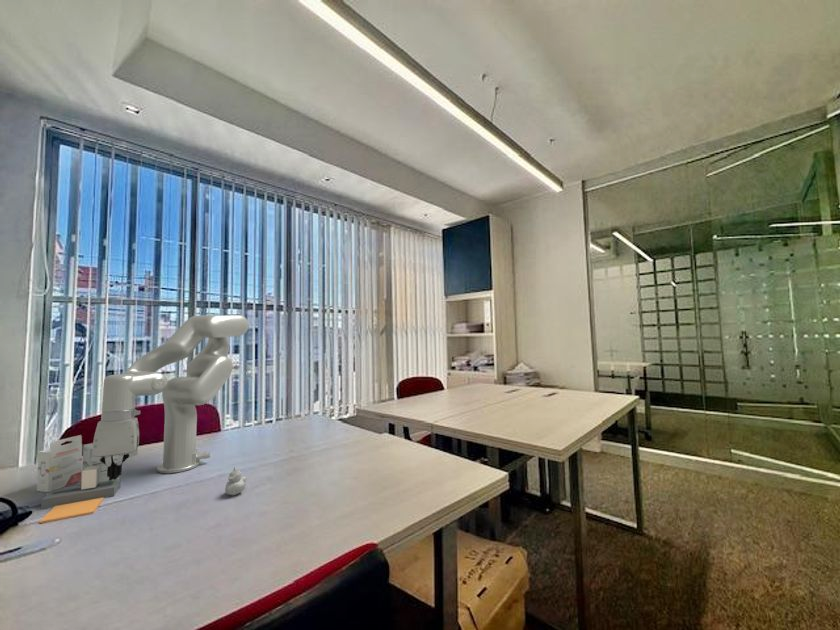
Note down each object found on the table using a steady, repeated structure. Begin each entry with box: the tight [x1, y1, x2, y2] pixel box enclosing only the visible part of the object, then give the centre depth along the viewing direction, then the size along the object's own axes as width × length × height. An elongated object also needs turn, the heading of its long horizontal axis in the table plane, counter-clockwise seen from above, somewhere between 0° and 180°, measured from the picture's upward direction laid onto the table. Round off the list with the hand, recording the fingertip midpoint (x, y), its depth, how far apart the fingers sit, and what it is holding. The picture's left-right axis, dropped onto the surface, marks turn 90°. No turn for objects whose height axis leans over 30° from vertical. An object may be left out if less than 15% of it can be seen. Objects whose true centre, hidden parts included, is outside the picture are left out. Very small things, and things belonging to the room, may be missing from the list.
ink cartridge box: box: [36, 434, 83, 493], centre depth 107 cm, size 9×5×15 cm, turn 168°
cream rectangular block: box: [80, 465, 101, 490], centre depth 100 cm, size 3×4×5 cm
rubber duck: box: [224, 466, 247, 496], centre depth 102 cm, size 5×7×8 cm
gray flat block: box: [40, 478, 122, 510], centre depth 99 cm, size 15×7×3 cm, turn 119°
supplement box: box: [80, 442, 120, 485], centre depth 108 cm, size 7×7×13 cm
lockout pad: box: [39, 497, 105, 525], centre depth 92 cm, size 10×9×1 cm
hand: (114, 478), depth 103 cm, fingers closed
